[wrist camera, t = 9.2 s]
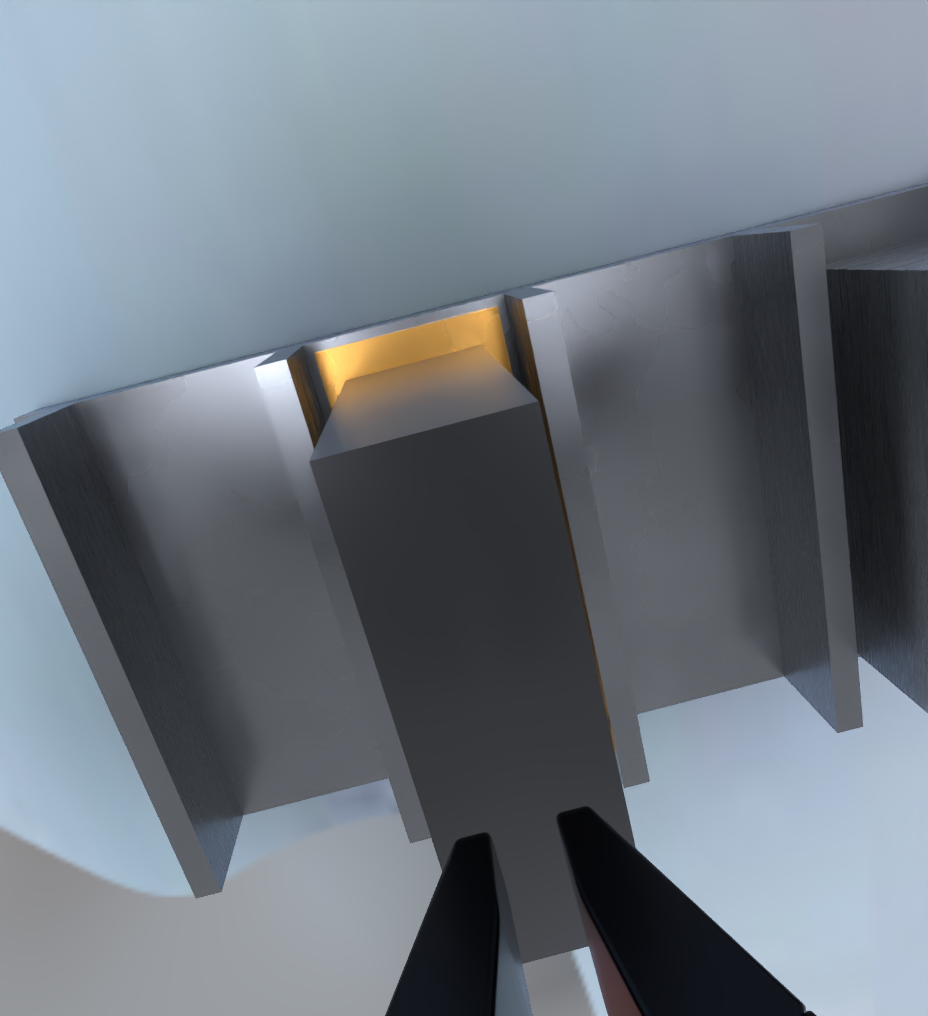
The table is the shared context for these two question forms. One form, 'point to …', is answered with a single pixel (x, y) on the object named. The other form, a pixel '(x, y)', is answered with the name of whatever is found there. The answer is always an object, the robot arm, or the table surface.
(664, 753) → the table surface
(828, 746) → the table surface
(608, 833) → the robot arm
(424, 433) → the blanking panel
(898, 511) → the rack
